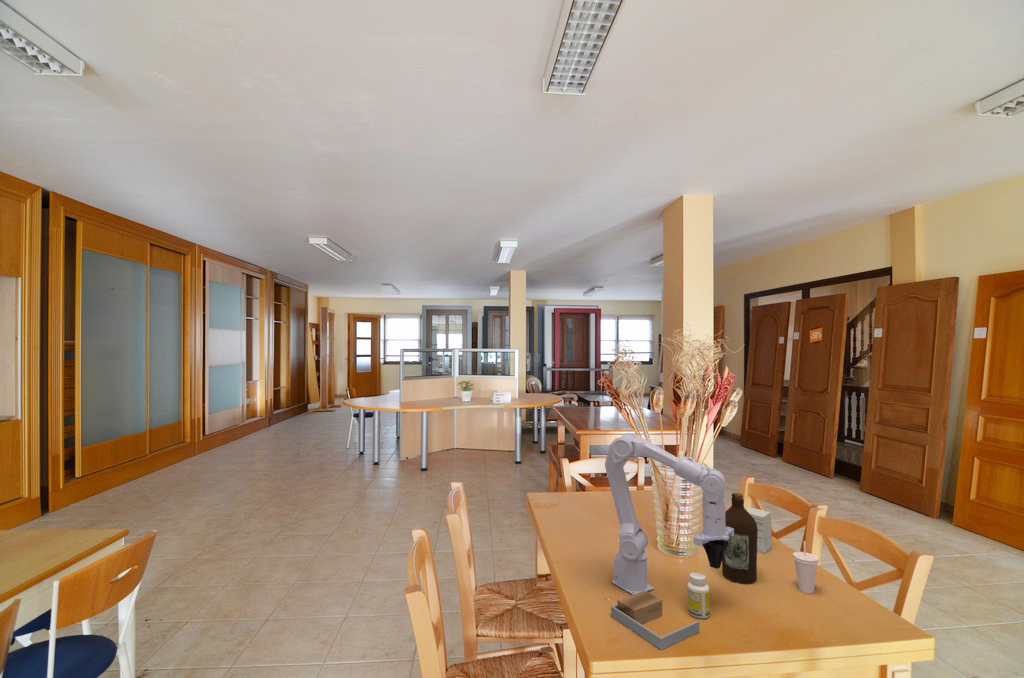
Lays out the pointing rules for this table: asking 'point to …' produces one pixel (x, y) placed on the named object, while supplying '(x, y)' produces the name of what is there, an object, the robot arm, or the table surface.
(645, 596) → the block
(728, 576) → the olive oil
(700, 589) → the supplement bottle
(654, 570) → the table surface
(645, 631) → the grey bracket
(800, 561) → the smoothie
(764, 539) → the supplement box
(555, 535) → the table surface
